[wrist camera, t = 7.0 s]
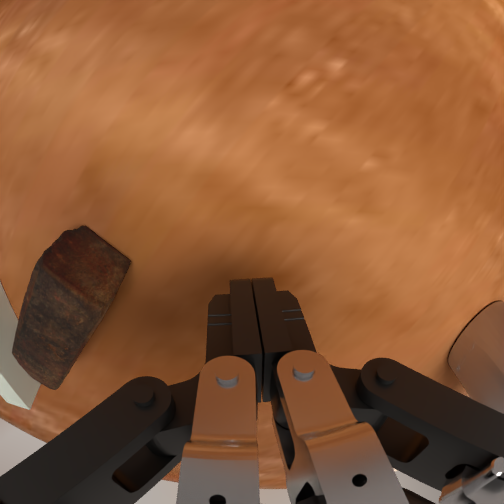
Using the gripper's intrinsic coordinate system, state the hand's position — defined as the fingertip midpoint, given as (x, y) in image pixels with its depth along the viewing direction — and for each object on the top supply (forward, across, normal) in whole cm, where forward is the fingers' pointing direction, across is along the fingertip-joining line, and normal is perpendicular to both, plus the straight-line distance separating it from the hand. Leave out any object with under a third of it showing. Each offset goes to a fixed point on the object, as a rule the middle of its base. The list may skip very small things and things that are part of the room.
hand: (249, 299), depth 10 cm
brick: (+5, +11, +3) cm, 12 cm away
